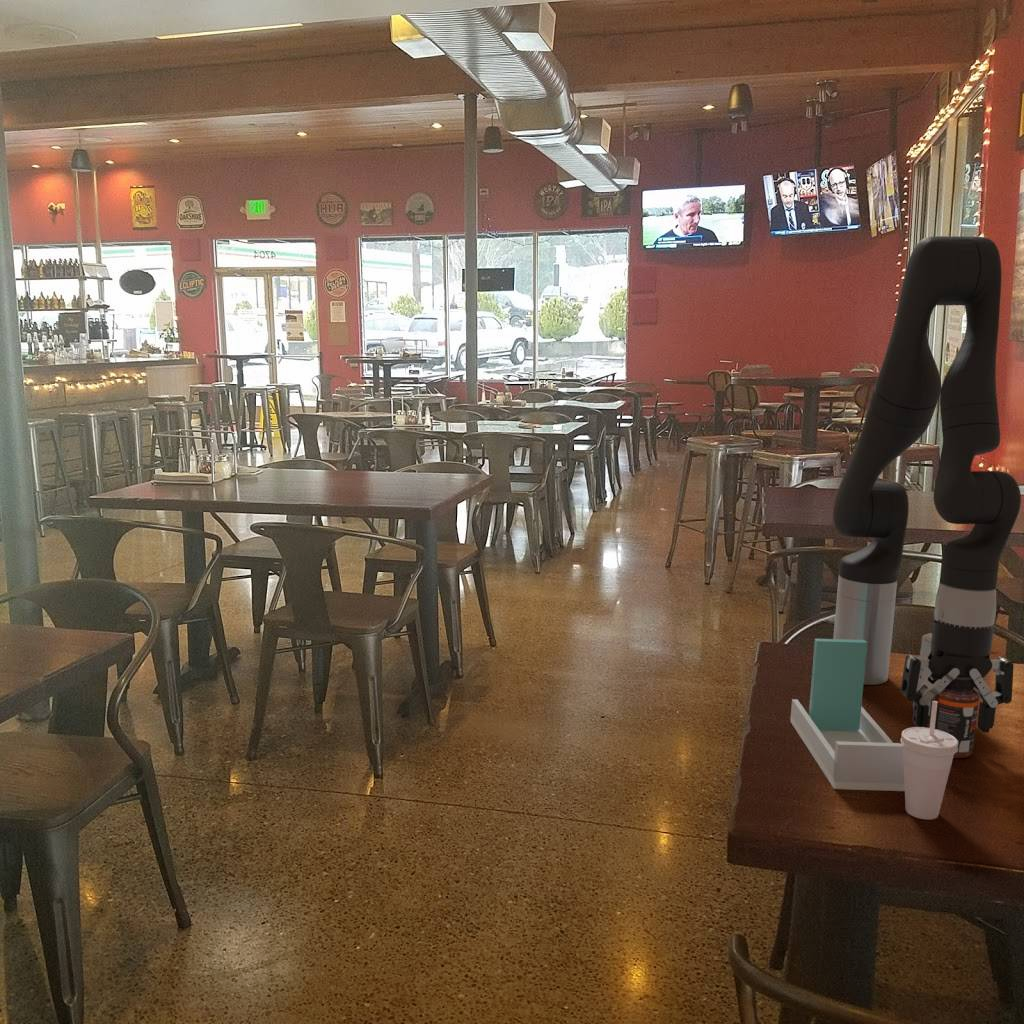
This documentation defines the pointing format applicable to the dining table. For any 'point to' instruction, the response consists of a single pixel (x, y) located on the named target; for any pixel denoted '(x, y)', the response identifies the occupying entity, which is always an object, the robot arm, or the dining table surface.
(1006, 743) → the dining table surface
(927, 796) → the smoothie
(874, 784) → the lane
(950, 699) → the supplement bottle
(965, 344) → the robot arm
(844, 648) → the pusher
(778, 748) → the dining table surface
